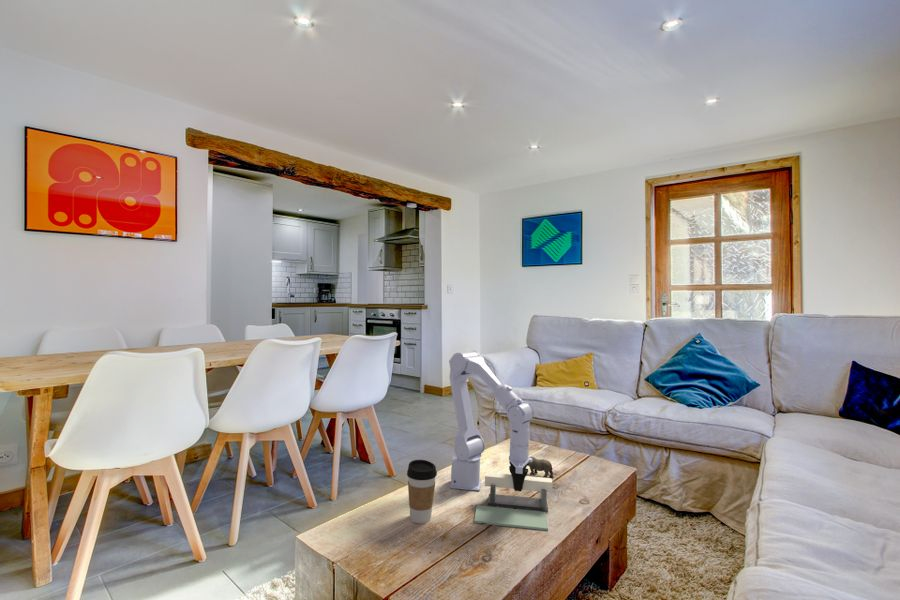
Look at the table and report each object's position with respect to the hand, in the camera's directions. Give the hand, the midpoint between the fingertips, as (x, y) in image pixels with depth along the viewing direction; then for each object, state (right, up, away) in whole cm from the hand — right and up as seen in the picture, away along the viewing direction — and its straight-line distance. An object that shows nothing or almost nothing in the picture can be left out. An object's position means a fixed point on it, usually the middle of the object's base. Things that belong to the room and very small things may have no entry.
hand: (517, 488), depth 130 cm
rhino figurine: (+9, -5, +23) cm, 25 cm away
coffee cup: (-29, -4, -10) cm, 31 cm away
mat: (-3, -5, -9) cm, 10 cm away
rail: (0, 0, 0) cm, 0 cm away
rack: (0, -5, 0) cm, 5 cm away
